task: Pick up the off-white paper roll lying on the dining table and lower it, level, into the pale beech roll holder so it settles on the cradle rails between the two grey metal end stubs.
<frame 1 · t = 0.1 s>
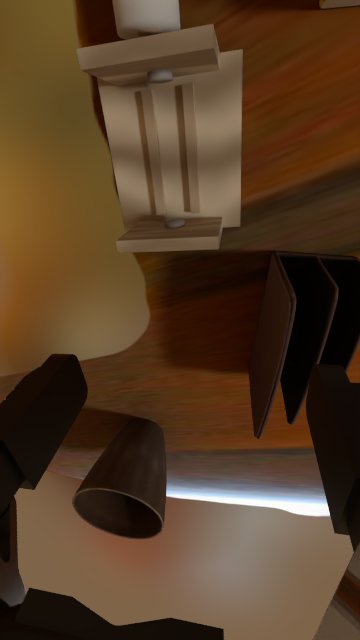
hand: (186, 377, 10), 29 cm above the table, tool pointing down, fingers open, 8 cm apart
letter holder: (294, 320, 41), on the table
roll holder: (176, 155, 32), on the table
plant pot: (144, 430, 59), on the table
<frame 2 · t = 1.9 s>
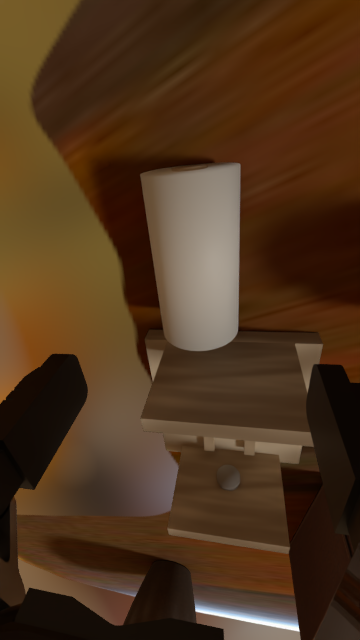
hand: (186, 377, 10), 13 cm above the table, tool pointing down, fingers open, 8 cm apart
letter holder: (344, 518, 38), on the table
roll holder: (229, 395, 29), on the table
paper roll: (195, 260, 19), point 3 cm above the table, tilted 22°
plant pot: (170, 566, 56), on the table
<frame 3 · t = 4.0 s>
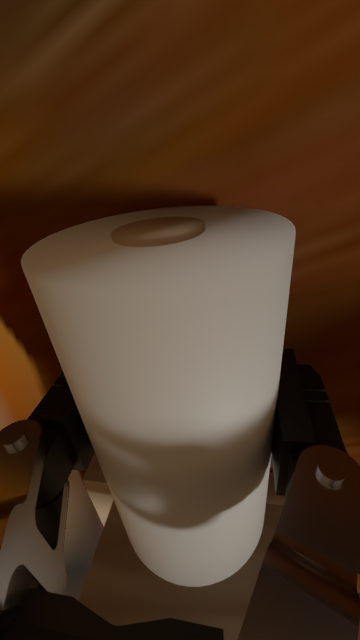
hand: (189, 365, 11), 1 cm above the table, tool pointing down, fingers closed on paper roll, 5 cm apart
roll holder: (223, 537, 19), on the table
paper roll: (181, 405, 9), point 3 cm above the table, touching gripper
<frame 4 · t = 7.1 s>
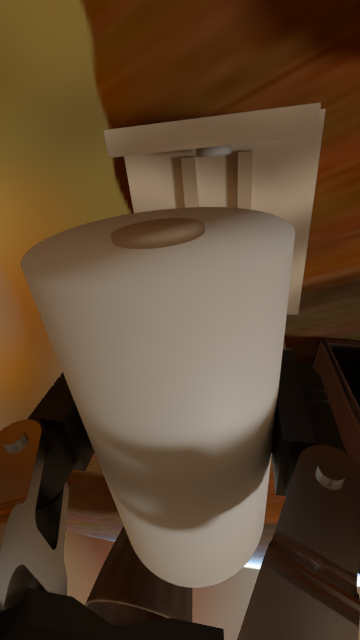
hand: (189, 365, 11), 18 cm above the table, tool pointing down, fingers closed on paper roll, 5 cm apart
letter holder: (341, 407, 34), on the table
roll holder: (220, 229, 25), on the table
paper roll: (181, 406, 9), point 20 cm above the table, touching gripper
plant pot: (163, 498, 53), on the table
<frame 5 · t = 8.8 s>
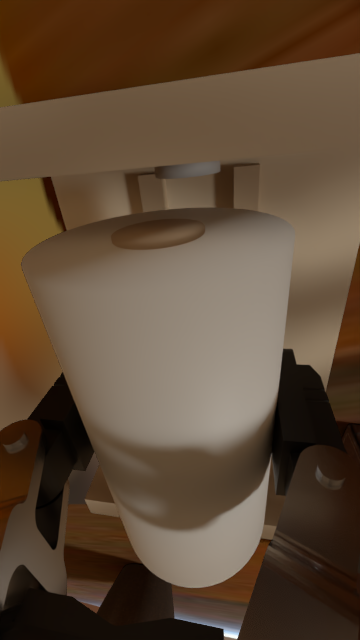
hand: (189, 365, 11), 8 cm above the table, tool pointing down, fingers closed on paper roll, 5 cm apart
roll holder: (207, 278, 17), on the table
paper roll: (181, 406, 9), point 9 cm above the table, touching gripper
plant pot: (146, 572, 44), on the table
when the fingers open (4 cm above the table, at t = 10.4 s): paper roll drops 1 cm, resting on roll holder.
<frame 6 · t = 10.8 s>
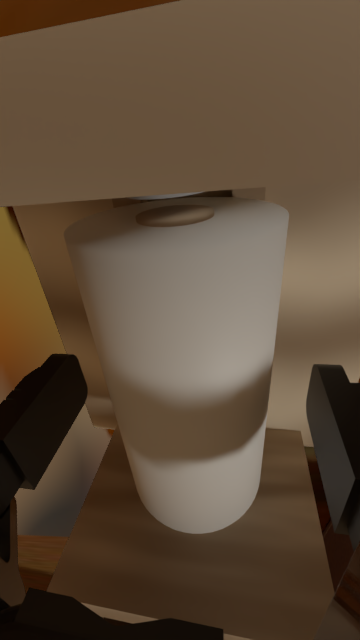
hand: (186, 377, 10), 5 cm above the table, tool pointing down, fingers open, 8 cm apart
roll holder: (201, 308, 14), on the table
paper roll: (188, 373, 10), point 5 cm above the table, touching roll holder
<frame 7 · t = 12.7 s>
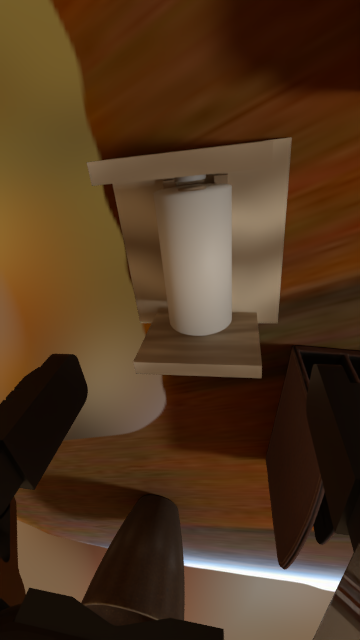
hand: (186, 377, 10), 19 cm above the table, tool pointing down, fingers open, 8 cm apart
letter holder: (318, 411, 36), on the table
roll holder: (202, 244, 27), on the table
paper roll: (196, 261, 23), point 5 cm above the table, touching roll holder
plant pot: (157, 504, 54), on the table
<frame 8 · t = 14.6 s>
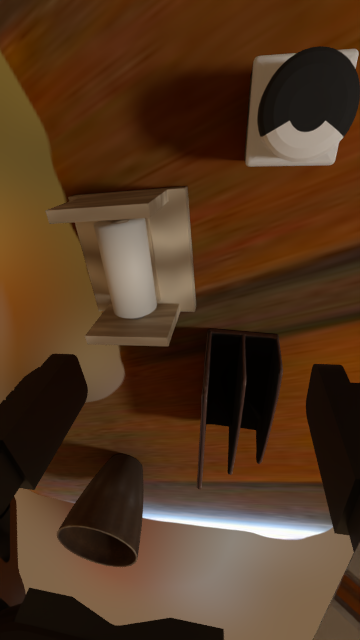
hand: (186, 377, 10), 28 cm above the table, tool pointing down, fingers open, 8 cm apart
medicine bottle: (284, 118, 28), on the table
letter holder: (236, 380, 47), on the table
roll holder: (139, 254, 38), on the table
paper roll: (128, 267, 34), point 5 cm above the table, touching roll holder
plant pot: (126, 463, 65), on the table
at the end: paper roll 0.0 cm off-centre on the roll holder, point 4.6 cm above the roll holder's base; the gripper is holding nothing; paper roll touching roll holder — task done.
